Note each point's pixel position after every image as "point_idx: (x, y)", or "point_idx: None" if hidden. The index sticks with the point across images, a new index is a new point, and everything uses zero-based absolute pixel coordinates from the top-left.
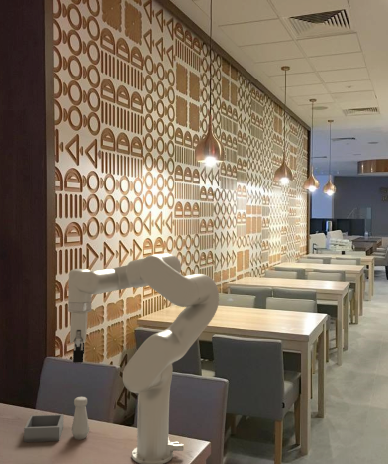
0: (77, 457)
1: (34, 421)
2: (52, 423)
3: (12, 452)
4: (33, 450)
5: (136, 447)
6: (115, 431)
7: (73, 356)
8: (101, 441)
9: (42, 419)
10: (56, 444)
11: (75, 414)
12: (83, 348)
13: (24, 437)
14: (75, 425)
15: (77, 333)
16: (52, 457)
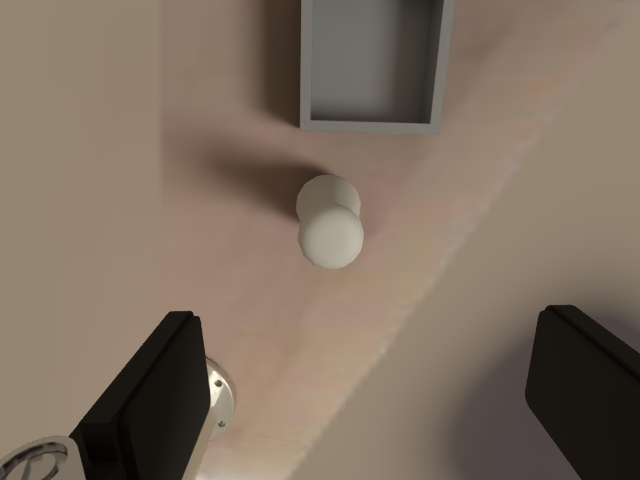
0: (174, 201)
1: (436, 3)
2: (424, 89)
3: None
4: (230, 41)
5: (208, 367)
6: (357, 309)
7: (139, 355)
8: (285, 268)
9: (434, 40)
10: (274, 123)
11: (317, 200)
12: (567, 456)
13: None
14: (305, 194)
15: None
16: (174, 120)
